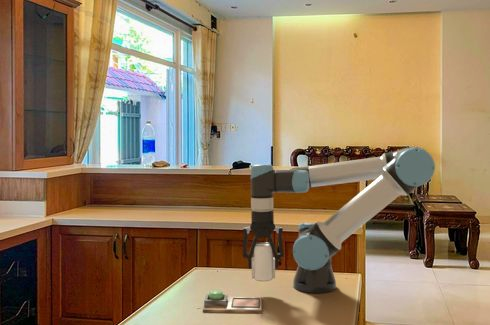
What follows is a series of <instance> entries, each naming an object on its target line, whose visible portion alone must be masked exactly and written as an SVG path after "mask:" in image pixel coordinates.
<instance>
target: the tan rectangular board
mask: <svg viewBox="0 0 490 325" xmlns="http://www.w3.org/2000/svg"><path fill="white" fill-rule="evenodd" d="M262 299H263V297H261V296H259V297H257V296H255V297H254V296H228V294H227V293H226V294H224V293H223V300H209V293H207V294H206V295H205V297H204V299H203V300H204V301H203V302H204V303H203V307H202V313H230V314H231V313H238V314H247V313H248V314H262V313H263V312H262V311H263V309H262V308H263V306H262V305H263V302H262V301H263V300H262Z"/></svg>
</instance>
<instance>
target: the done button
mask: <svg viewBox="0 0 490 325" xmlns="http://www.w3.org/2000/svg"><path fill="white" fill-rule="evenodd" d="M208 294H209V300H223V294H224V292H223V291H221V290H211V291H209V292H208Z"/></svg>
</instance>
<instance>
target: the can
mask: <svg viewBox="0 0 490 325" xmlns="http://www.w3.org/2000/svg"><path fill="white" fill-rule="evenodd" d="M253 258H254V279H253V280H255V281H258V282H270V281H272V280H273V258H274V254H273V251H272V249H271V246H270V243H269V242H267V241H266V242H265V241H264V242H262V241H261V242H257V243H256V246H255V249H254V252H253Z"/></svg>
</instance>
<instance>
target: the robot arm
mask: <svg viewBox="0 0 490 325" xmlns="http://www.w3.org/2000/svg"><path fill="white" fill-rule="evenodd" d="M273 166H274V165H272V164H267V163H266V164H265V163H263V164H261V163H260V164H259V163H258V164H253V165H252V166H251V168H250V177H249V178H250V209H251V213H250V214H251V216H250V217H251V224H250V226H247V227H242V232H243V248H242V258H246V259H247V262H248V264H247V266H248V269H251V279H252V280H255V279H254V253H253V252H254V249H255V246H256V243H258V240H259V239H261V238H265V239H267V240H268V243H270V246H271V249H272V251H273V279H276V269H278V268H279V259H280V258H283V257H284V255H285V254H284V246H283V237H282V234H283V230H284V229H283V227H282V226H280V227H279V226H276V225H275V222H274V221H275V219H274V216H275V215H274V212H275V211H274V210H273V209H274V193H295V194H299V193H307V192H309V189H310V188H314V187H322V186H323V187H325V186H333V185H340V184H348V183H356V182H357V183H358V182H365V181H372V180H373V181H372V182H371V183H370V184H368V185H367V186H366V187H365V188H363V189H362V190H361V191H360V192H358V194H356V195H355V196H354V197H353V198H351V199H350V200H349V201H348V202H347V203H345V204H344V205H343V206H342V207H341V208H339V209H338V210H337V211H336V212H334V213H333V214H332V215H331V216H330V217H329V218H327V219H326V220H325V221H317V222H315V223H314V222H301V223H300V224H298V229H297V230H298V236H297V238H296V240H295V241H294V243H293V246H292V254H293V255H292V257H293V259H294V260H295V262H296V264H297V265H298V266H297V268H296V272H295V275H294V278H293V284H292V286H293V288H294V289H296V290H298V291H301V292H305V293H314V294H320V293H321V294H322V293H323V294H324V293H329V292H333V291H336V288H337V282H336V281H337V280H336V277H335V274H334V271H333V268H332V257H333V256H335V255H336V254H337V253H338V252H339V251H340V250H341V249H342V244H343V242H344V241H345V240H347V239H348V238H349V237H350V236H351V235H352V234H355V232H357V231H358V230H359V229H360V228H361V227H363V226H364V225H365V224H366V223H368V221H370V220H371V219H373V217H375V216H376V215H378V214H379V213H380V212H381V211H382V210H384V209H385V208H386V207H387V206H388V205H390V204H391V203H392V202H393V201H395V200H396V199H397V198H398V197H399V196H405V197H406V196H407V197H408V195H409V194H411V193H412V192H414V191H415V190H416V189H417V188H418V187H421V186H423V185H426V184H427V183H428V182H430V180H431V179H432V177H433V176H434V173H435V169H436V165H435V160H434V158H433V156H432V155H431V153H429V152H428V151H427V150H426V149H424V148H422V147H418V146H410V147H405V148H401V149H397V150H394V151H391V152H384V153H383V154H381V156H377V157H376V156H375V157H367V158H362V159H354V160H347V161H345V160H344V161H337V162H331V163H323V164H315V165H310V166H309V165H308V166H302V167H298V166H297V167H292V168H290V169H280V170H279V169H274V167H273ZM250 231H251V232H252V233H253V235H254V236H253V239H252V240H253V241H252V243H251V246H250V249H249V252H247V251H248V237H249V234H250ZM274 231H275V233H276V234H277V241H278V249H279V250H278V251H279V252H278V251H277V249H276V246H275V243H274V240H273V237H272V234H273V232H274ZM273 279H272V280H273Z"/></svg>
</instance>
